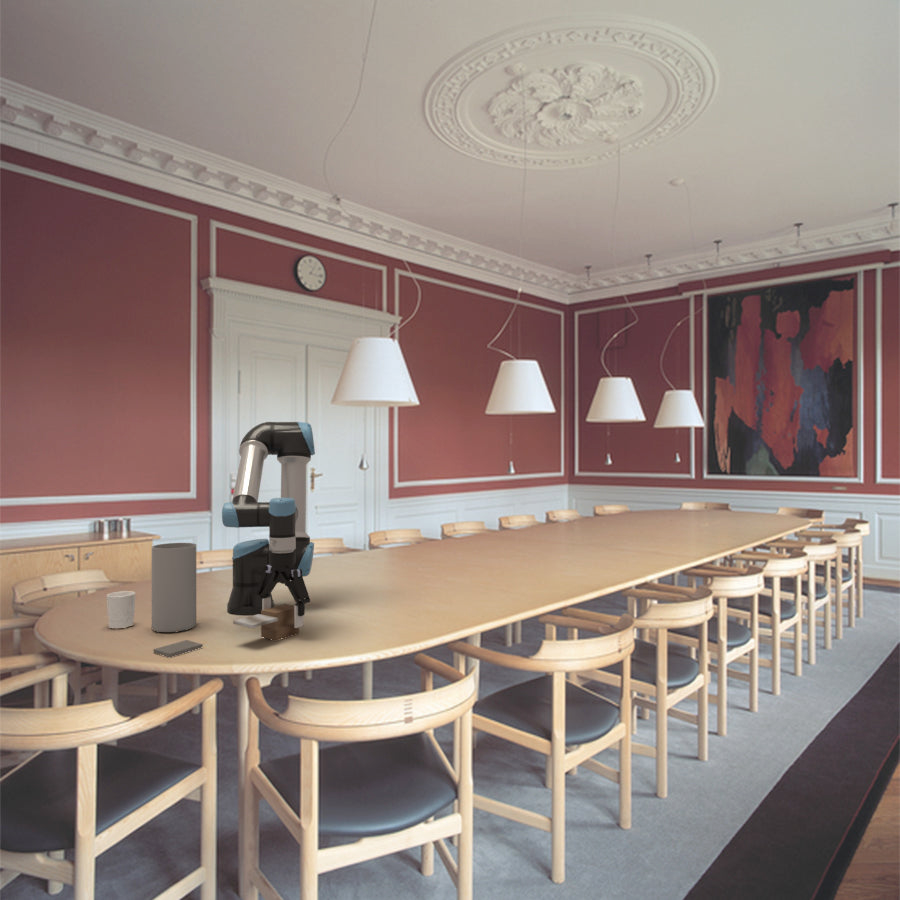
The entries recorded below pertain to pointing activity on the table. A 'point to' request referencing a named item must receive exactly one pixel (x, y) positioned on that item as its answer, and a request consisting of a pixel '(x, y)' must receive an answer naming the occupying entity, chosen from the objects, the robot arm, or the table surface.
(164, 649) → the tile
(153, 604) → the cylinder vase
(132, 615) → the white cup
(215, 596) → the table surface
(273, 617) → the wood block with tab
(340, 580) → the table surface
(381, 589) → the table surface
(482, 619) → the table surface
